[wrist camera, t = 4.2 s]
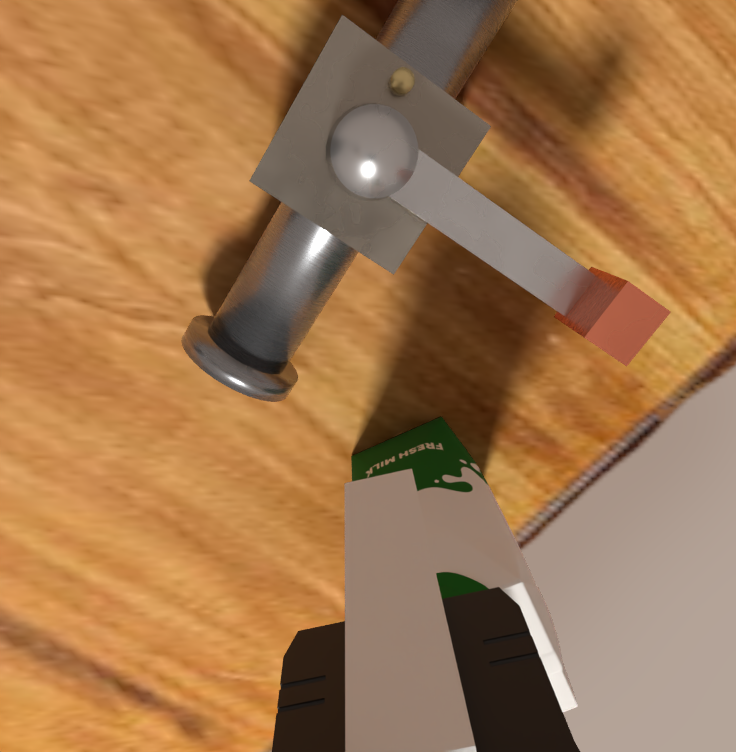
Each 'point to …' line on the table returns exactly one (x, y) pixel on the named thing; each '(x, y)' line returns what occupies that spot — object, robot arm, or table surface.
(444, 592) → the milk carton
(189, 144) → the table surface
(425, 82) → the valve body
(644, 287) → the table surface
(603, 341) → the lever
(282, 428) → the table surface
